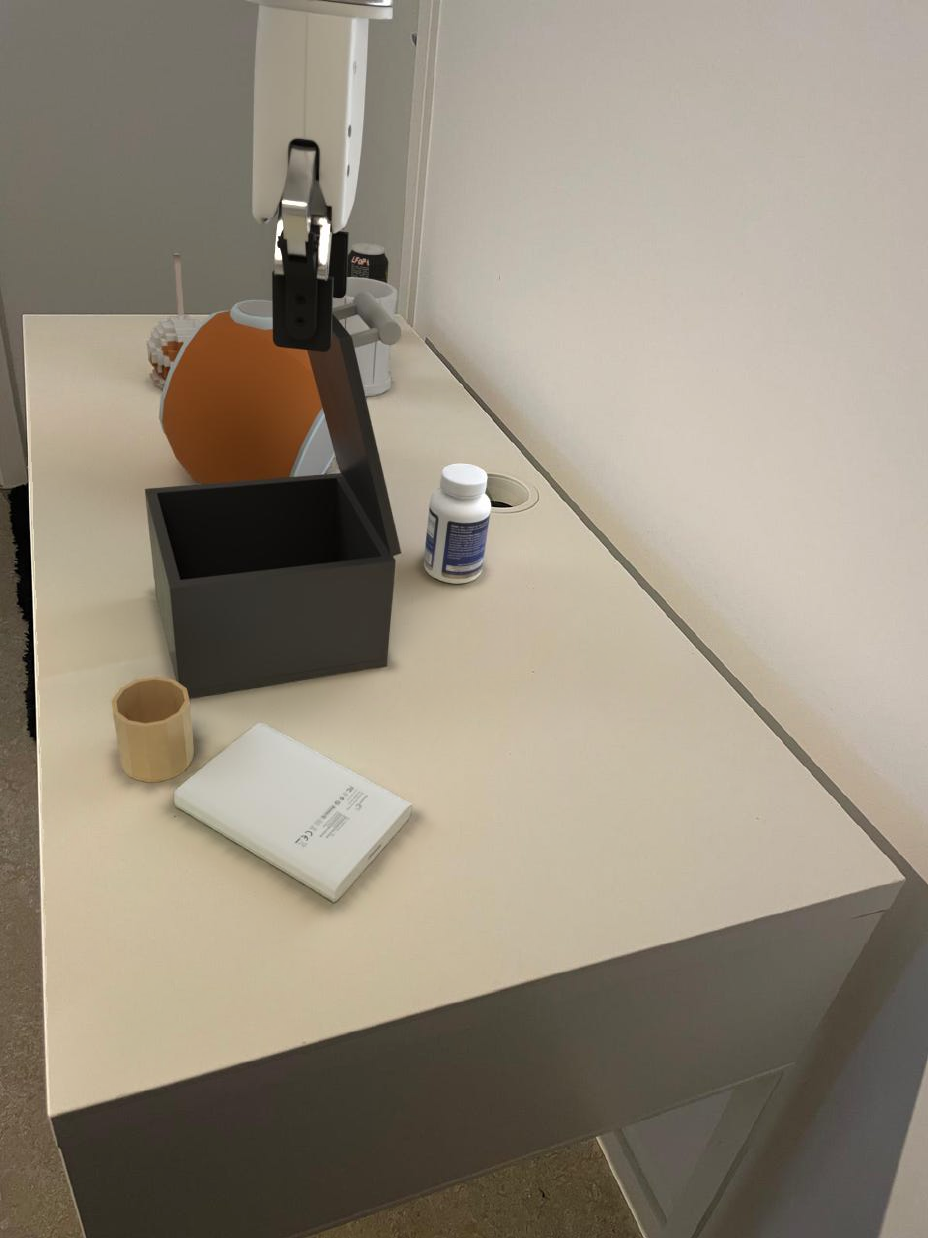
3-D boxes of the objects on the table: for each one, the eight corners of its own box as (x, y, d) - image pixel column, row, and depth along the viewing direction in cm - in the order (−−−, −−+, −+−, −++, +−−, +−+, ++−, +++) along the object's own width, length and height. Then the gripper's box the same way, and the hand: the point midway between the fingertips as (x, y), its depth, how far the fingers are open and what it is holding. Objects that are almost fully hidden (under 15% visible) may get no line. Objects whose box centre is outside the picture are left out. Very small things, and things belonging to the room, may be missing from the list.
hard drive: (261, 736, 63) (411, 817, 58) (174, 809, 57) (334, 906, 52) (260, 719, 62) (413, 800, 57) (172, 791, 56) (334, 888, 51)
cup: (370, 408, 109) (375, 309, 102) (301, 391, 111) (302, 292, 104) (401, 380, 117) (408, 286, 110) (337, 365, 119) (340, 271, 112)
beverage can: (373, 326, 133) (378, 240, 126) (390, 339, 129) (396, 252, 122) (337, 328, 130) (340, 241, 123) (353, 342, 126) (357, 253, 119)
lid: (339, 340, 53) (416, 317, 54) (285, 270, 63) (351, 252, 64) (391, 557, 64) (454, 534, 65) (338, 468, 74) (394, 450, 75)
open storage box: (180, 700, 64) (169, 588, 59) (155, 593, 74) (144, 488, 69) (387, 666, 70) (396, 560, 64) (339, 571, 80) (343, 472, 74)
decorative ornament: (160, 398, 104) (148, 265, 96) (145, 373, 110) (132, 244, 101) (226, 393, 108) (221, 263, 99) (209, 368, 113) (202, 243, 104)
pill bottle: (492, 567, 83) (507, 473, 78) (461, 592, 80) (475, 495, 74) (444, 546, 85) (455, 452, 80) (411, 570, 82) (421, 473, 76)
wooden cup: (124, 788, 57) (115, 731, 55) (117, 739, 61) (108, 683, 58) (198, 774, 59) (193, 718, 56) (187, 727, 62) (182, 671, 60)
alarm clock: (230, 424, 101) (223, 264, 91) (376, 459, 98) (386, 298, 88) (133, 498, 86) (112, 317, 76) (303, 542, 83) (305, 360, 73)
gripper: (268, -38, 51) (271, 272, 61) (203, -36, 37) (221, 365, 47) (400, -20, 52) (382, 284, 62) (385, -11, 38) (364, 380, 48)
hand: (312, 319), depth 55 cm, fingers open, 9 cm apart
